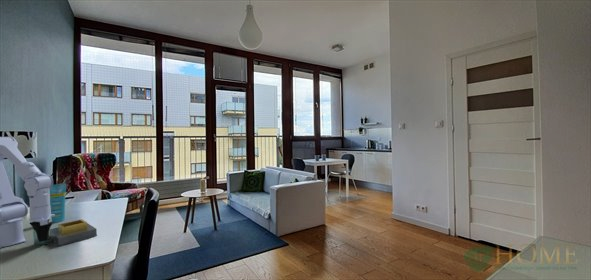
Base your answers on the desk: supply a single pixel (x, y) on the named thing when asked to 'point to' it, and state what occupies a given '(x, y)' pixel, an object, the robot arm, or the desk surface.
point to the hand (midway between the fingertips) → (41, 239)
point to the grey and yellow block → (72, 232)
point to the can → (36, 241)
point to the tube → (58, 202)
